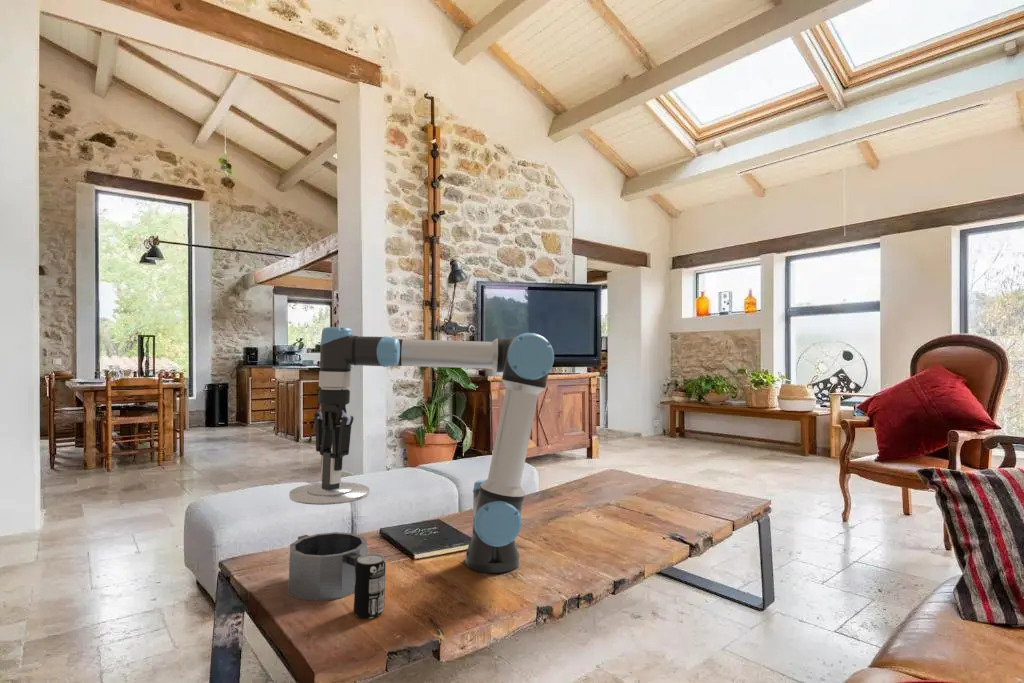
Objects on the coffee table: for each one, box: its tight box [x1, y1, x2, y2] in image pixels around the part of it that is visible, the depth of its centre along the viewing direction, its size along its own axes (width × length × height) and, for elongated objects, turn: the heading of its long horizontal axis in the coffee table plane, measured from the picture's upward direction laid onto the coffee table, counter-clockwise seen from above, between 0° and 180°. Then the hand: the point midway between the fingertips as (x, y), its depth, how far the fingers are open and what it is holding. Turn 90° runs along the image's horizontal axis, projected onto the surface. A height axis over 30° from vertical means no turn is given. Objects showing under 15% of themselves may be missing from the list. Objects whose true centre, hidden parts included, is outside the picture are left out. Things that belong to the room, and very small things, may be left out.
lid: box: [288, 450, 370, 506], centre depth 136 cm, size 19×19×11 cm
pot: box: [287, 531, 368, 602], centre depth 135 cm, size 24×18×10 cm
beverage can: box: [353, 553, 386, 620], centre depth 121 cm, size 7×7×12 cm
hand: (330, 482), depth 136 cm, fingers closed on lid, 3 cm apart
